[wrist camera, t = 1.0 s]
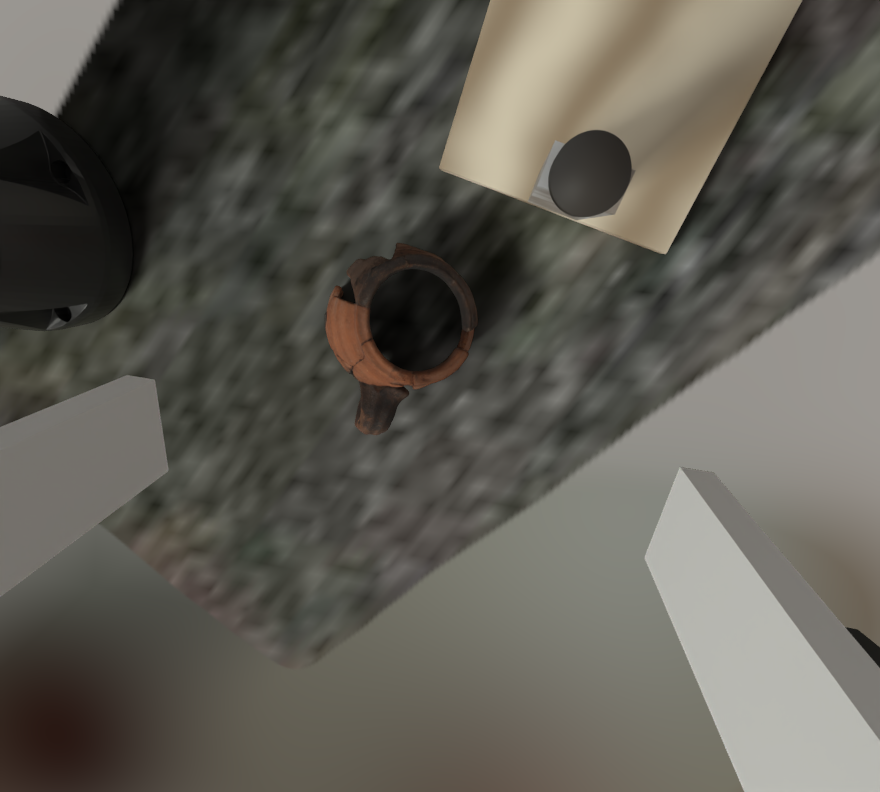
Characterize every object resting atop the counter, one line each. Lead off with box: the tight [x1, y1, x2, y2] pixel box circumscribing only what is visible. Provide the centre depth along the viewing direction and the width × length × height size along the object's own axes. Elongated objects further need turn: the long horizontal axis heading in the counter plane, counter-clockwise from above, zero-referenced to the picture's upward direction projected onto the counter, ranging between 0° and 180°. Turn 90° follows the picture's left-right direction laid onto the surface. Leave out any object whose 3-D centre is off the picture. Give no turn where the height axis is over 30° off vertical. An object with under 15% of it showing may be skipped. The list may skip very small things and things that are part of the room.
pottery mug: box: [325, 243, 478, 435], centre depth 28 cm, size 12×10×8 cm
